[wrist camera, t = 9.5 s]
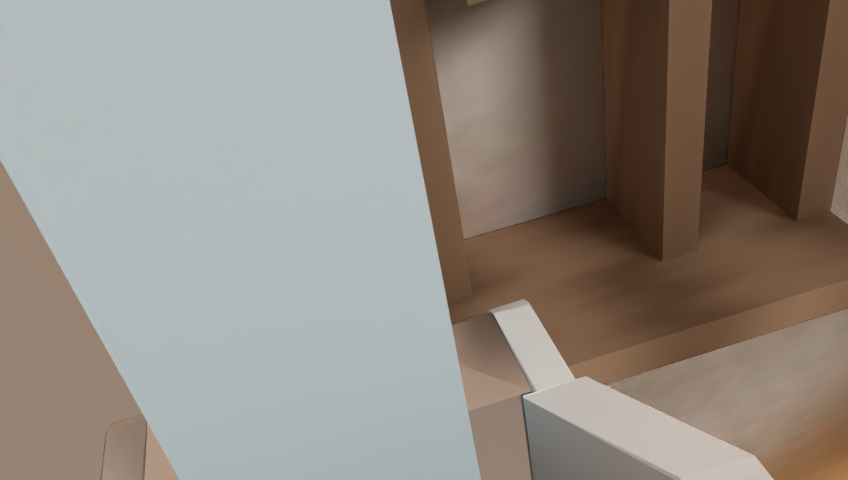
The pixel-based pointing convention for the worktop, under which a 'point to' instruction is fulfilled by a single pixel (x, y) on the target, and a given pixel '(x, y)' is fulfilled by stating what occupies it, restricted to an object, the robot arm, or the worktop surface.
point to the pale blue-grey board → (243, 228)
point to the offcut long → (472, 2)
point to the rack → (668, 191)
